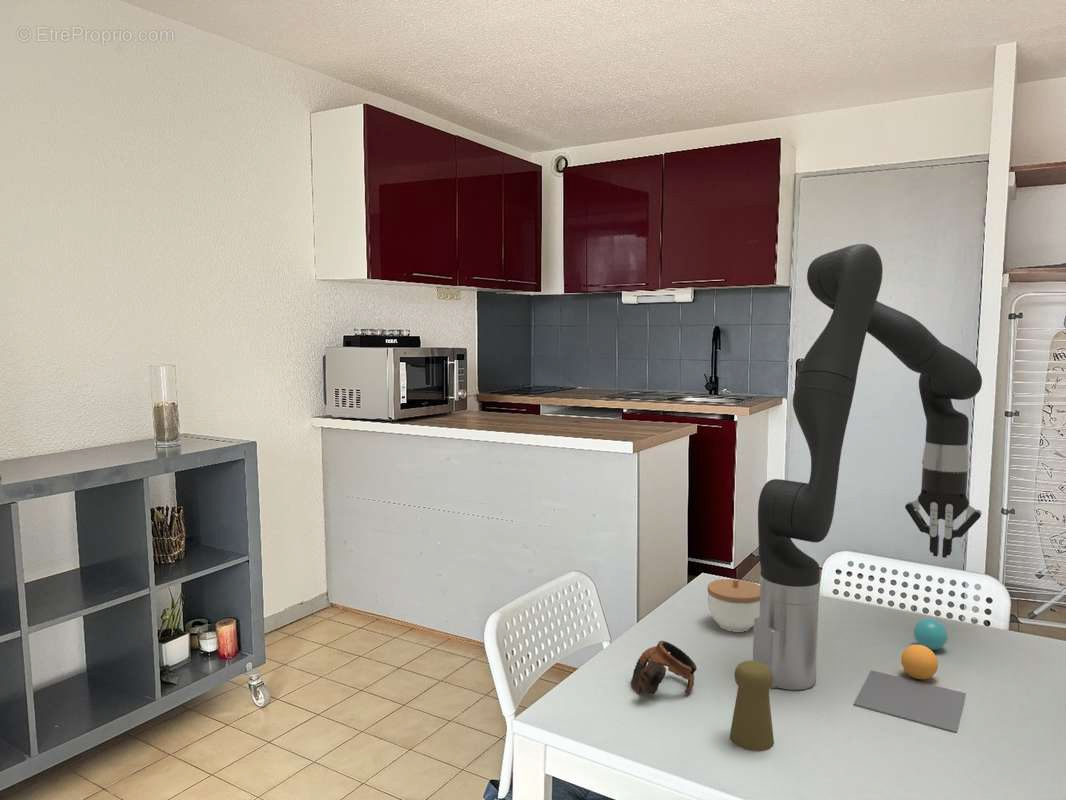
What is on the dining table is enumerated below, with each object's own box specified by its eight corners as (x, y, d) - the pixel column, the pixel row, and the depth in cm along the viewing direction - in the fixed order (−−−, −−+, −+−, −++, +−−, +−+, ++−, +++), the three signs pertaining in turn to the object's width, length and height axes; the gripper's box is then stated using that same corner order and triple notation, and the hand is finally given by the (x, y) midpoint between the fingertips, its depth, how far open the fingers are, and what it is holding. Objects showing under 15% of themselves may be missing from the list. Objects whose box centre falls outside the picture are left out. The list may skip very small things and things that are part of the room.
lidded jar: (770, 637, 140) (771, 589, 139) (713, 637, 140) (714, 589, 140) (754, 615, 151) (755, 571, 150) (701, 615, 151) (702, 570, 150)
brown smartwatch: (637, 672, 127) (662, 632, 126) (682, 710, 122) (709, 669, 122) (612, 683, 116) (639, 640, 116) (660, 725, 112) (689, 680, 111)
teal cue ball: (927, 656, 132) (929, 626, 132) (906, 643, 138) (907, 615, 137) (954, 653, 133) (955, 624, 133) (931, 641, 139) (933, 612, 138)
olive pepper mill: (765, 756, 101) (767, 679, 100) (722, 741, 105) (725, 666, 104) (780, 737, 106) (782, 663, 105) (739, 723, 109) (741, 651, 108)
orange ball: (915, 686, 121) (917, 654, 120) (892, 671, 126) (894, 640, 126) (945, 683, 122) (946, 651, 121) (920, 668, 127) (922, 637, 127)
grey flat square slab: (956, 733, 107) (956, 731, 107) (853, 704, 115) (853, 703, 115) (965, 694, 118) (965, 693, 118) (871, 671, 126) (871, 670, 126)
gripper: (988, 467, 140) (982, 557, 141) (908, 460, 147) (904, 545, 149) (985, 473, 133) (979, 567, 135) (902, 465, 141) (898, 554, 143)
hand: (940, 555), depth 142 cm, fingers closed
